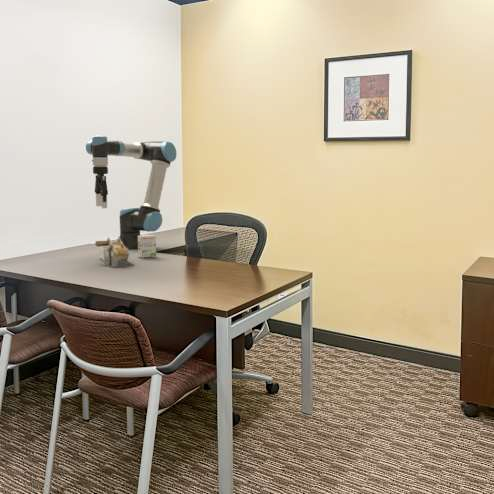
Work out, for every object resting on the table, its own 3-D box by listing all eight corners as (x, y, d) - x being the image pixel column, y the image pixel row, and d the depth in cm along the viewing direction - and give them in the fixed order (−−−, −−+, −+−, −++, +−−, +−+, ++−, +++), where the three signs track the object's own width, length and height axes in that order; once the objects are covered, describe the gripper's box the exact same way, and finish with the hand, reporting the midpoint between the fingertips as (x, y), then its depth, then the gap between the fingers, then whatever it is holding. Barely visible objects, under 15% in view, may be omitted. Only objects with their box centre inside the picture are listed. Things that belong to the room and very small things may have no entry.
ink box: (152, 255, 305) (152, 234, 303) (156, 257, 300) (156, 235, 299) (137, 257, 300) (137, 235, 298) (141, 258, 296) (140, 236, 294)
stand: (103, 261, 285) (102, 245, 284) (124, 260, 290) (124, 244, 289) (111, 267, 270) (111, 250, 269) (134, 265, 275) (133, 248, 274)
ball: (123, 254, 277) (123, 247, 276) (125, 256, 274) (125, 249, 273) (116, 254, 275) (116, 247, 274) (118, 256, 272) (118, 249, 271)
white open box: (116, 256, 300) (116, 245, 299) (122, 260, 291) (121, 248, 290) (99, 258, 296) (99, 246, 295) (104, 261, 287) (103, 249, 286)
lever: (95, 243, 283) (95, 238, 282) (118, 241, 288) (119, 236, 287) (103, 260, 269) (104, 255, 268) (128, 258, 275) (128, 253, 273)
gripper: (88, 165, 300) (89, 205, 303) (98, 166, 278) (99, 209, 281) (102, 165, 303) (103, 205, 307) (113, 166, 281) (114, 208, 285)
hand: (101, 207), depth 294 cm, fingers open, 13 cm apart
